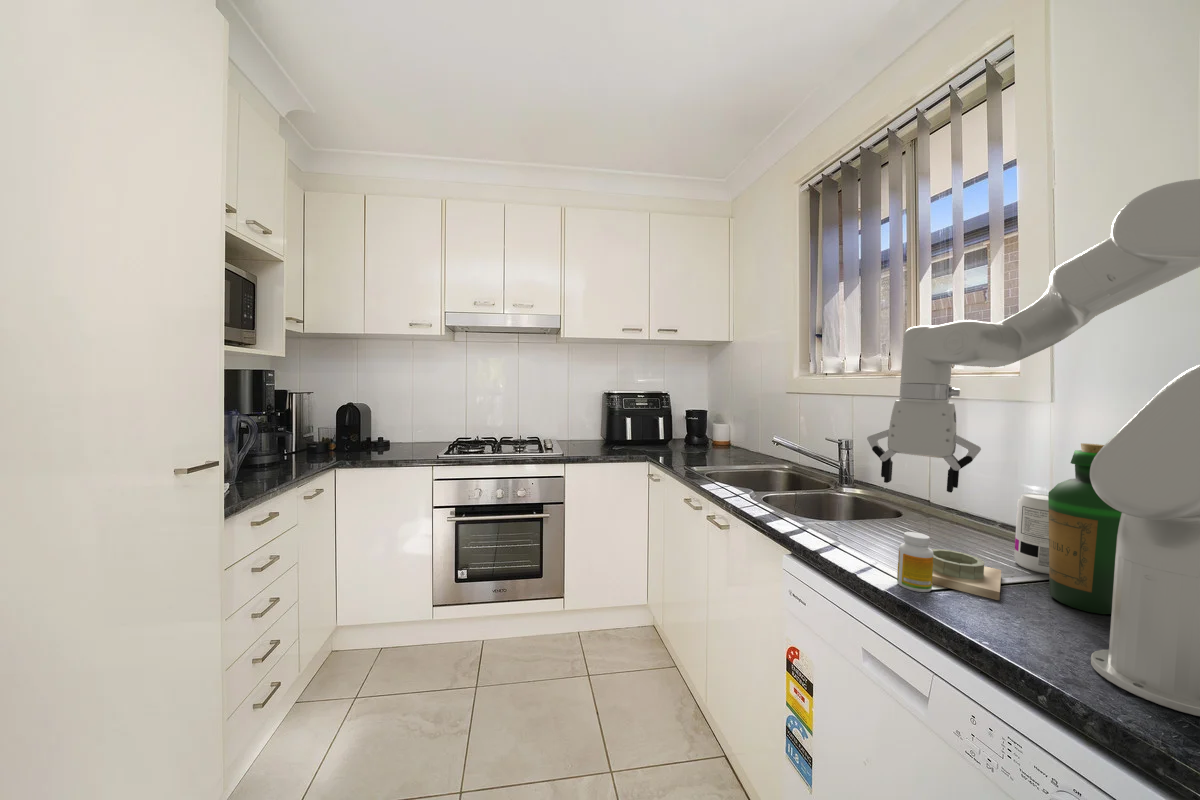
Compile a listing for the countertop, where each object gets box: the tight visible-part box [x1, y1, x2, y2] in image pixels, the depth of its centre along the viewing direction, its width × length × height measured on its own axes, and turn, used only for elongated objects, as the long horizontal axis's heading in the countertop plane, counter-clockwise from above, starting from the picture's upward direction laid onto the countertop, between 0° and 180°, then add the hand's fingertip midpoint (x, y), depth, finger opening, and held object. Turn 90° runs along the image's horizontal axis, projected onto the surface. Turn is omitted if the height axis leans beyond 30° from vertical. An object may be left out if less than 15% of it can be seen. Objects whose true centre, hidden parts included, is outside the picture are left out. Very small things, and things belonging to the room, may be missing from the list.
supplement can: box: [1013, 492, 1049, 575], centre depth 98 cm, size 8×8×15 cm
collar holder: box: [930, 548, 1002, 601], centre depth 92 cm, size 14×14×4 cm
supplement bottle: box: [896, 531, 934, 593], centre depth 87 cm, size 5×5×10 cm
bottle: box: [1047, 443, 1122, 615], centre depth 81 cm, size 11×11×28 cm
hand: (917, 486), depth 87 cm, fingers open, 9 cm apart
